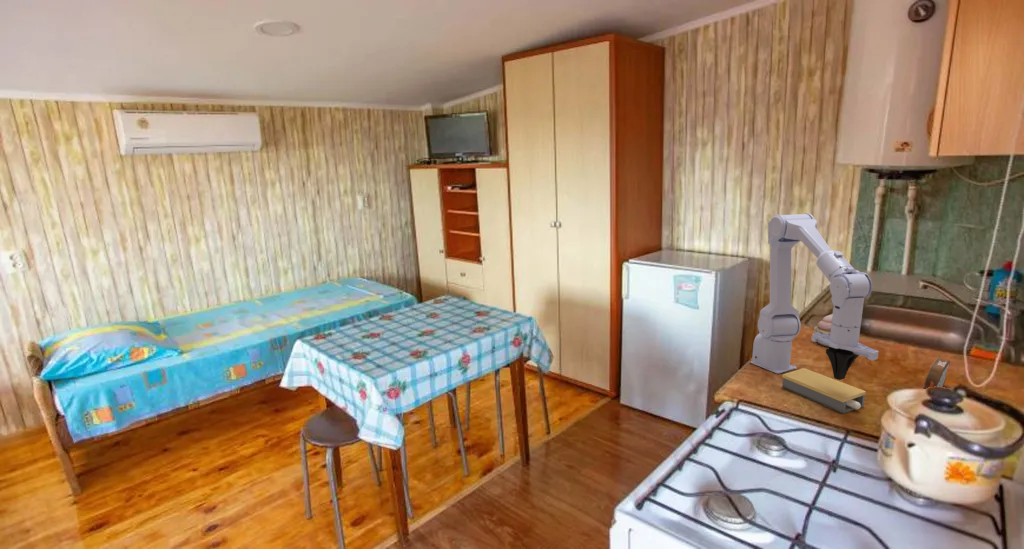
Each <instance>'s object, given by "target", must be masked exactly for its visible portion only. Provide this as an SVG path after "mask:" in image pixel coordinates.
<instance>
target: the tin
mask: <svg viewBox="0 0 1024 549" xmlns="http://www.w3.org/2000/svg"><path fill="white" fill-rule="evenodd" d="M950 365H951V361H950V360H949V359H945V358H942V357H939V356H937V357H936V359H934V361H933V362H932V364H930V367H929V370H928V372H927V375H926V376H925V381H924V384H923V389H926V388H928V387H934V386H936V387H943V388H944V384H945V382H946V380H947V372H948V369H949V367H950ZM923 389H922V390H923Z"/></svg>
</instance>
